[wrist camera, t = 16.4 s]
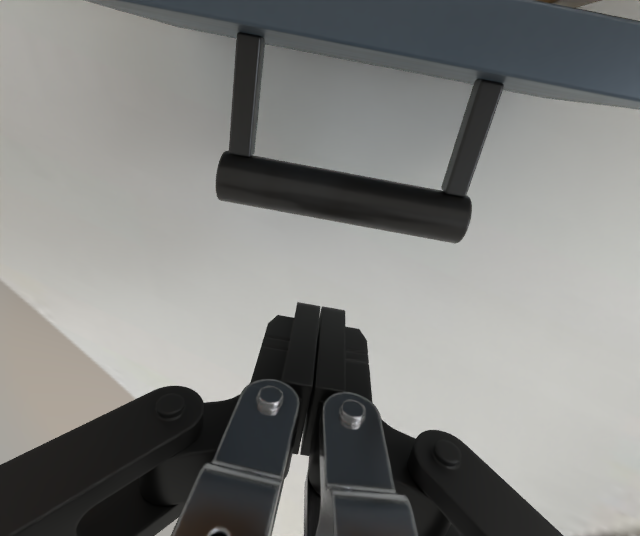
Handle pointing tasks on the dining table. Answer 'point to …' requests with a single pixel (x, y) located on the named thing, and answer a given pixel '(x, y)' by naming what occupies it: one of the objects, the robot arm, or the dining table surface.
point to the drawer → (413, 56)
